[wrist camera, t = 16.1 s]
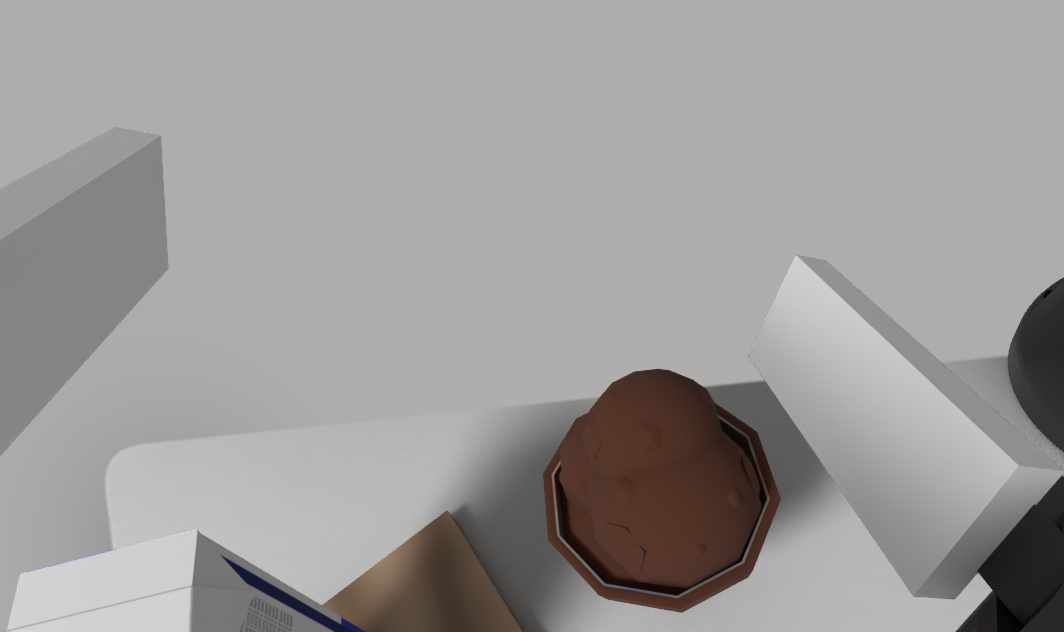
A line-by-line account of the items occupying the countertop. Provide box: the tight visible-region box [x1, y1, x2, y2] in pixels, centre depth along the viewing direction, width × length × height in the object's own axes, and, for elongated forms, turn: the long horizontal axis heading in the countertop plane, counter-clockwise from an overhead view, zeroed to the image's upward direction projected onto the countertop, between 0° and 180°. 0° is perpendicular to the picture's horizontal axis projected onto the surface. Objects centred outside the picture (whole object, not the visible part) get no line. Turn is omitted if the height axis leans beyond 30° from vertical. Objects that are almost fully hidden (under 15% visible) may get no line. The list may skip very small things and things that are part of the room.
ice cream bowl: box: [543, 369, 781, 613], centre depth 31 cm, size 11×11×15 cm
